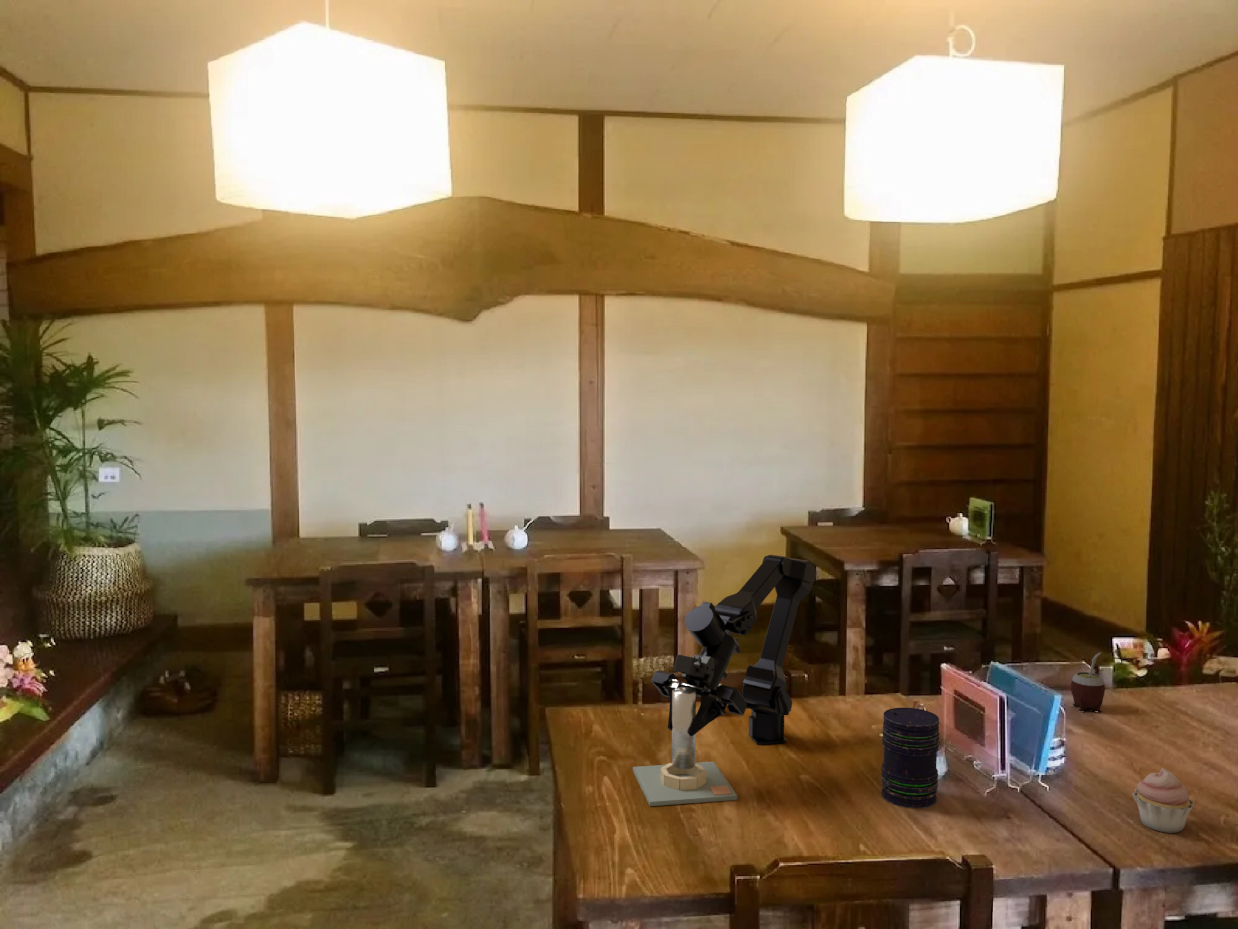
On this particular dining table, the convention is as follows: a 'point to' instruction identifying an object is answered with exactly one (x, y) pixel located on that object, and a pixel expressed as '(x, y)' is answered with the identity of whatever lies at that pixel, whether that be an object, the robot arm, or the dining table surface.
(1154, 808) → the cupcake
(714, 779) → the socket board
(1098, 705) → the mate gourd
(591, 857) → the dining table surface
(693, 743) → the silver metal cylinder
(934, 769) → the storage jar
